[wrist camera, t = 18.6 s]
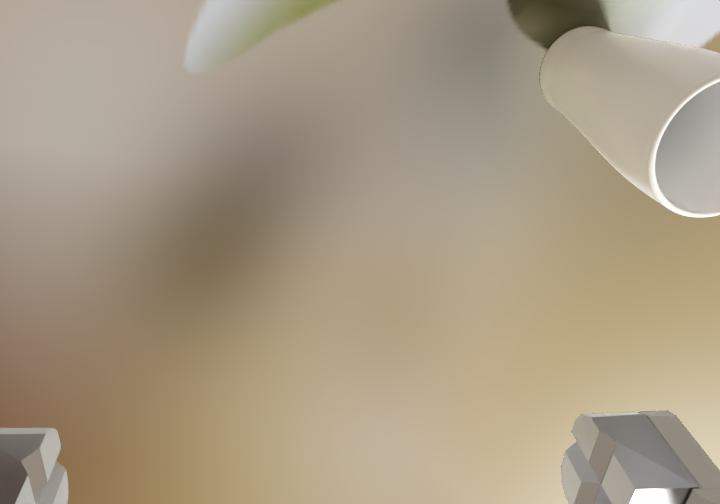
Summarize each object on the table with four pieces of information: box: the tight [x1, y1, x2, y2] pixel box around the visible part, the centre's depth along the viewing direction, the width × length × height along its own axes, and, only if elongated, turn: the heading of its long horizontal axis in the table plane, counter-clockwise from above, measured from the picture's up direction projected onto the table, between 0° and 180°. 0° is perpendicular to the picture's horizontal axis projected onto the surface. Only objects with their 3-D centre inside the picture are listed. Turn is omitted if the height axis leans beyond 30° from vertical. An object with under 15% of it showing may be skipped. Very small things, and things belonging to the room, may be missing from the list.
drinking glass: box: [539, 26, 720, 217], centre depth 33 cm, size 7×7×15 cm
